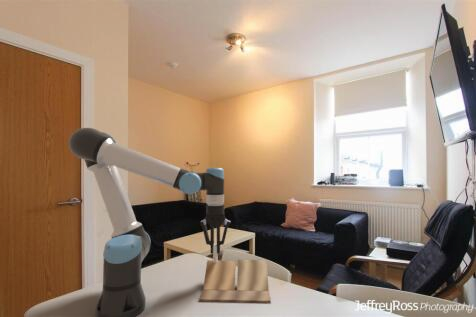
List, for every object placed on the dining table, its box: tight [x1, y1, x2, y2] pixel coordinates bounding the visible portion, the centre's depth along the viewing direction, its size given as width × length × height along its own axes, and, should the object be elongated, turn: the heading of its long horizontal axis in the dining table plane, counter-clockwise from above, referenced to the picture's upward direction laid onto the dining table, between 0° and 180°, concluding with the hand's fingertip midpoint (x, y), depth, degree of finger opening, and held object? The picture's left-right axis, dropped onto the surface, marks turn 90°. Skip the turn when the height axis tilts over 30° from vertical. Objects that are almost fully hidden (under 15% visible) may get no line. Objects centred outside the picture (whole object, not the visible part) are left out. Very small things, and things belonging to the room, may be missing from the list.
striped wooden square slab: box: [202, 260, 237, 291], centre depth 99 cm, size 12×12×2 cm
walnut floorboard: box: [199, 289, 272, 304], centre depth 89 cm, size 25×8×2 cm, turn 88°
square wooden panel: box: [236, 259, 270, 292], centre depth 98 cm, size 12×12×2 cm
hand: (215, 261), depth 102 cm, fingers closed
